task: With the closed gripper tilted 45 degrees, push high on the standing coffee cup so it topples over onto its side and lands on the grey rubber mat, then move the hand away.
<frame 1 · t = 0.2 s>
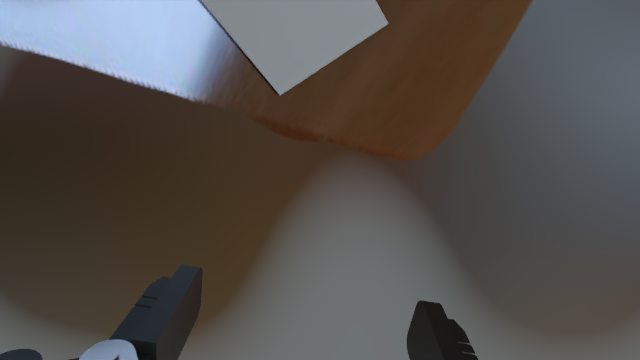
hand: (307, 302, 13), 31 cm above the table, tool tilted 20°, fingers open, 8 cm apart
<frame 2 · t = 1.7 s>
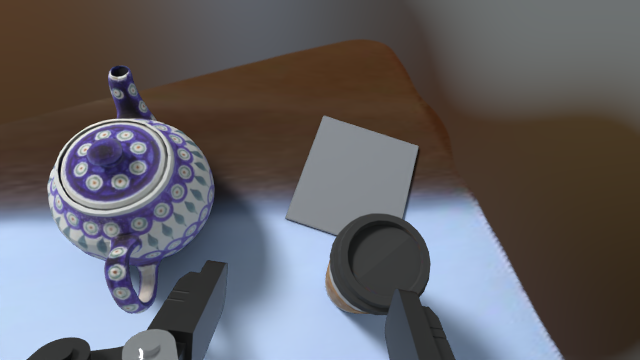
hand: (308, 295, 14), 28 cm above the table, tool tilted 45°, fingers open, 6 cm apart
teapot: (157, 209, 43), on the table
coffee cup: (351, 284, 42), on the table
mat: (355, 180, 47), on the table
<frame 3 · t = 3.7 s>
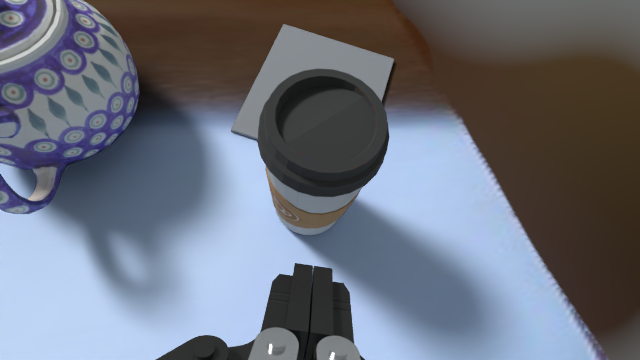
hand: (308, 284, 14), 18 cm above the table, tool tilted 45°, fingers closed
teapot: (75, 118, 36), on the table
coffee cup: (307, 205, 35), on the table
mat: (318, 93, 40), on the table
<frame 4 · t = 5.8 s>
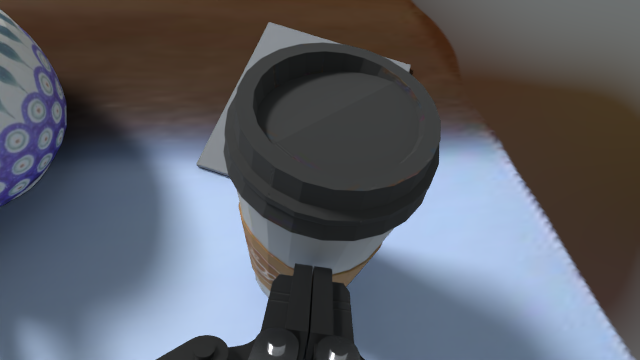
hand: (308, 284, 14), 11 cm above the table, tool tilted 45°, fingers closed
coffee cup: (300, 267, 25), on the table
mat: (314, 112, 31), on the table
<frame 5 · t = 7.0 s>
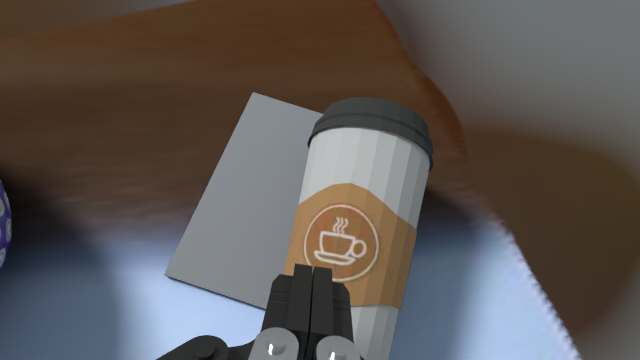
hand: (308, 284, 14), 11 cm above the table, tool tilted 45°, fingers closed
mat: (301, 202, 27), on the table
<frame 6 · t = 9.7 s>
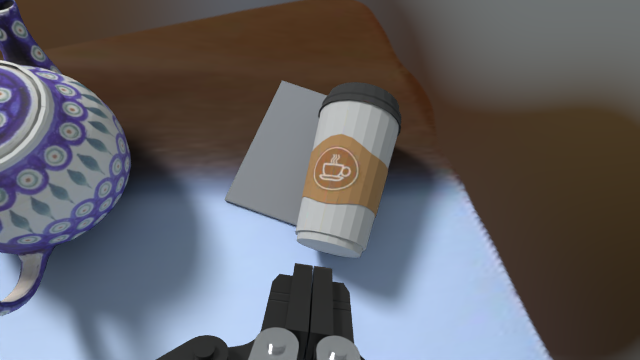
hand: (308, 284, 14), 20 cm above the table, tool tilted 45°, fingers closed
teapot: (66, 186, 35), on the table
coffee cup: (327, 250, 31), point 4 cm above the table, touching mat
mat: (316, 157, 39), on the table
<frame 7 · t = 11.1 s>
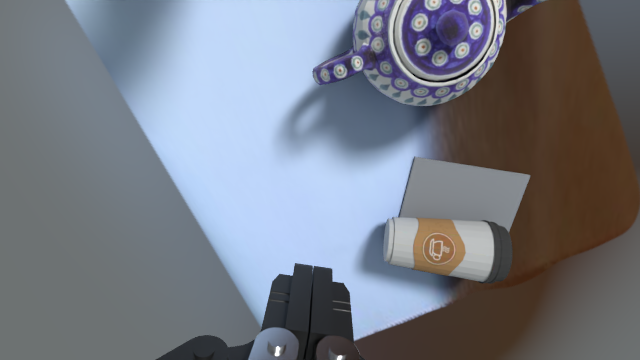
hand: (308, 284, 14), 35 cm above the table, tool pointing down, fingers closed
teapot: (412, 33, 43), on the table
coffee cup: (384, 239, 49), point 4 cm above the table, touching mat
mat: (457, 211, 51), on the table
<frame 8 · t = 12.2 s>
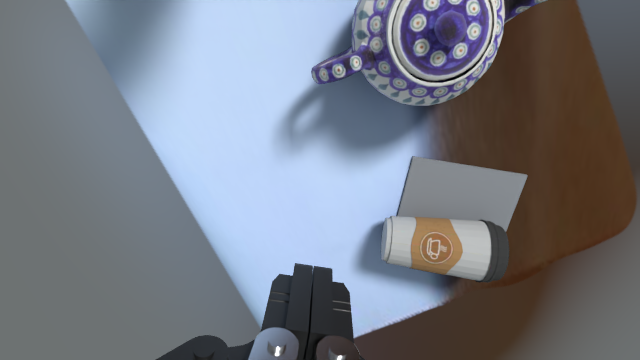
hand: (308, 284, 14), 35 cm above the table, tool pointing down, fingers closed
teapot: (410, 33, 43), on the table
coffee cup: (382, 238, 49), point 4 cm above the table, touching mat
mat: (454, 211, 51), on the table
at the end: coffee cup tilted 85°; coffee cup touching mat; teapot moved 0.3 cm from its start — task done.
